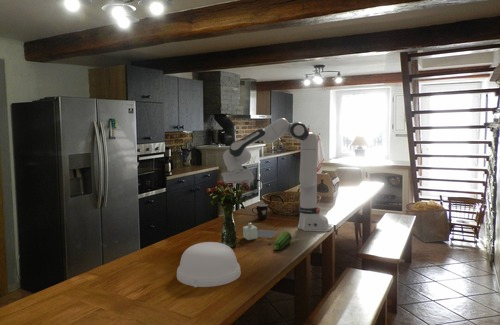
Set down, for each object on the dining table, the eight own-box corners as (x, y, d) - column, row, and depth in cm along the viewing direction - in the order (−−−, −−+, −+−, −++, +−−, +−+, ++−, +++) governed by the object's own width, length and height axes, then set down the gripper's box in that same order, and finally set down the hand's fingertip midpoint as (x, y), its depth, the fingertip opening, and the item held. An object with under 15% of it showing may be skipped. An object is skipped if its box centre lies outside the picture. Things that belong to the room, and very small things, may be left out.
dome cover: (193, 260, 204) (192, 234, 203) (248, 265, 196) (248, 237, 194) (163, 284, 173) (162, 253, 172) (227, 291, 165) (227, 258, 164)
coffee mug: (268, 217, 296) (268, 204, 295) (267, 219, 287) (267, 206, 286) (253, 217, 297) (252, 204, 296) (252, 219, 288) (251, 206, 287)
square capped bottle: (252, 235, 244) (252, 221, 243) (257, 238, 239) (257, 223, 237) (243, 237, 241) (242, 222, 240) (248, 240, 236) (247, 225, 234)
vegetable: (290, 228, 231) (278, 237, 213) (295, 239, 230) (283, 250, 212) (279, 232, 234) (267, 242, 216) (285, 243, 233) (272, 254, 215)
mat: (279, 232, 254) (279, 231, 254) (271, 238, 239) (271, 237, 239) (259, 230, 259) (259, 229, 259) (249, 236, 244) (249, 235, 244)
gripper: (221, 169, 249) (228, 186, 241) (250, 166, 258) (257, 183, 250) (219, 175, 253) (226, 192, 245) (247, 172, 263) (254, 189, 255)
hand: (242, 187), depth 248 cm, fingers open, 8 cm apart
